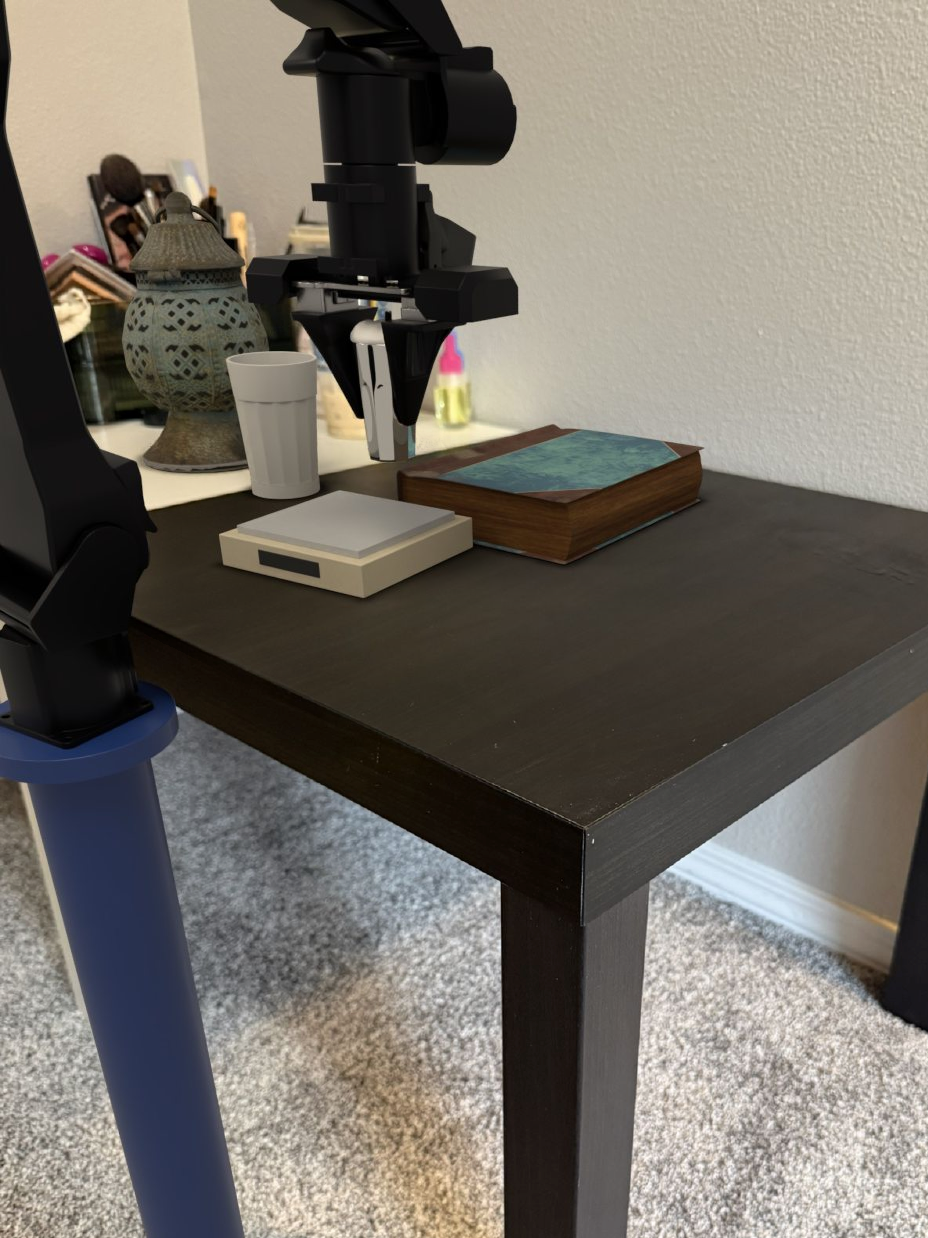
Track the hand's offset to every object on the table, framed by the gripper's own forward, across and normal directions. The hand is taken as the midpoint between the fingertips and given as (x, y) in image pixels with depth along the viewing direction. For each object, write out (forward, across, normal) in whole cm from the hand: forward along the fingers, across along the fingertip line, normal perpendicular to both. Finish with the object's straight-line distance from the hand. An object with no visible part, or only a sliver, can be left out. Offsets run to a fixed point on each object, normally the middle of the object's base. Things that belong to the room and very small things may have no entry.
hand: (386, 421), depth 75 cm
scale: (+12, +8, -4) cm, 15 cm away
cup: (+12, +26, -15) cm, 32 cm away
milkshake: (+3, 0, 0) cm, 3 cm away
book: (+12, 0, -23) cm, 26 cm away
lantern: (+12, +42, -21) cm, 48 cm away
